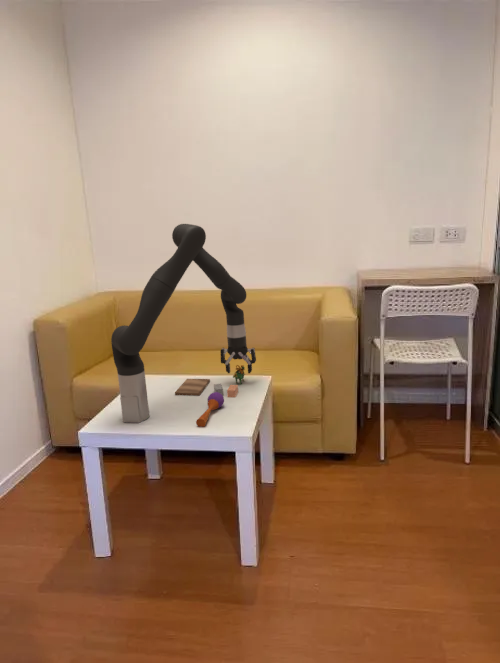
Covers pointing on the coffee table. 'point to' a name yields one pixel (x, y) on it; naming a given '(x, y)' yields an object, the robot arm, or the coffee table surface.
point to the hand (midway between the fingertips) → (239, 372)
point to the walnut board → (192, 387)
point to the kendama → (210, 407)
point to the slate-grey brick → (218, 388)
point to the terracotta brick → (232, 391)
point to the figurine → (239, 373)
